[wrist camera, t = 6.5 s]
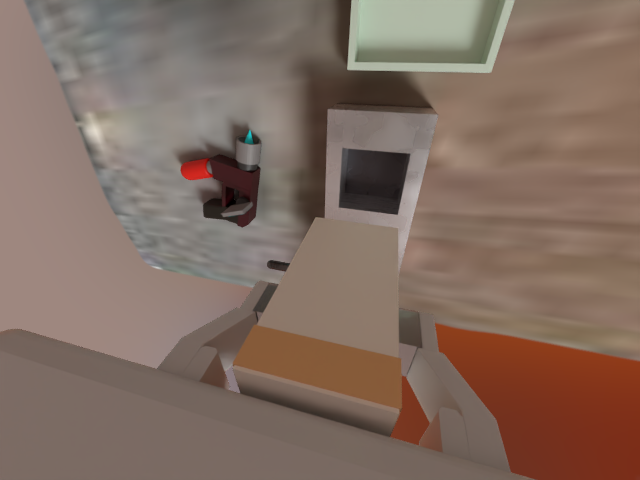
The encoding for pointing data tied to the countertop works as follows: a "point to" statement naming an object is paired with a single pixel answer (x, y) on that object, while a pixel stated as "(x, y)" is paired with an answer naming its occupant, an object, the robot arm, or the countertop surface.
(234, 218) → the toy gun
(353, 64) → the tray
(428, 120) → the grey box with openings
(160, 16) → the countertop surface
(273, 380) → the plug
